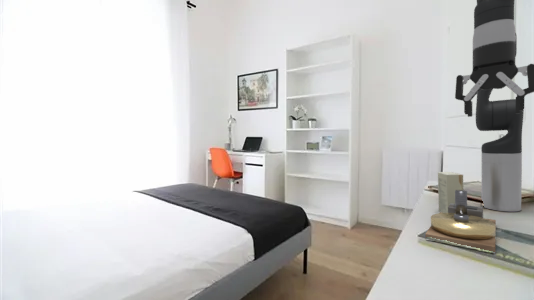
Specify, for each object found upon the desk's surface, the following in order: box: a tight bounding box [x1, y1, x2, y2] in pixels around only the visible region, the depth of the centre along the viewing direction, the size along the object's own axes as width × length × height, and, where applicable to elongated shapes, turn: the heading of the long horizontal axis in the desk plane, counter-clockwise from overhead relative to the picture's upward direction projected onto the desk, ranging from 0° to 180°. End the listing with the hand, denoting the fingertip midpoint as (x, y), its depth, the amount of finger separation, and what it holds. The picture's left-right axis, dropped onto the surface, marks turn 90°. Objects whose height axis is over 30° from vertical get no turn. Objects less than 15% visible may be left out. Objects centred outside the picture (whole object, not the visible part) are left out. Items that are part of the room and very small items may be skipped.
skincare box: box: [437, 171, 464, 213], centre depth 77 cm, size 6×4×12 cm
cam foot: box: [430, 189, 495, 239], centre depth 60 cm, size 12×12×8 cm
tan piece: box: [425, 203, 497, 253], centre depth 63 cm, size 20×12×5 cm, turn 138°
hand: (492, 115), depth 61 cm, fingers open, 8 cm apart
